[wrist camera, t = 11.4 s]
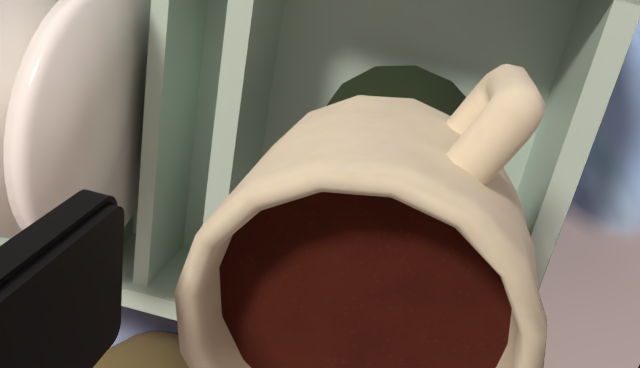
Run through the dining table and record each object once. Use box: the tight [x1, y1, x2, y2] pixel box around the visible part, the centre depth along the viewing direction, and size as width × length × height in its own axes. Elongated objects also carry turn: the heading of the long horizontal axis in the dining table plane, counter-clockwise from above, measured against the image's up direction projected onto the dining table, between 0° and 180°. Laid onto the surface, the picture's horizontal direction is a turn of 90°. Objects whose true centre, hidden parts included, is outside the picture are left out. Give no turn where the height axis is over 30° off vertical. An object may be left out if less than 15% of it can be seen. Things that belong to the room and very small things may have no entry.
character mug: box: [174, 64, 547, 368], centre depth 17 cm, size 11×7×13 cm, turn 146°
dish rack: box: [0, 0, 640, 321], centre depth 22 cm, size 22×15×5 cm
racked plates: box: [0, 0, 151, 239], centre depth 20 cm, size 3×9×9 cm, turn 170°
